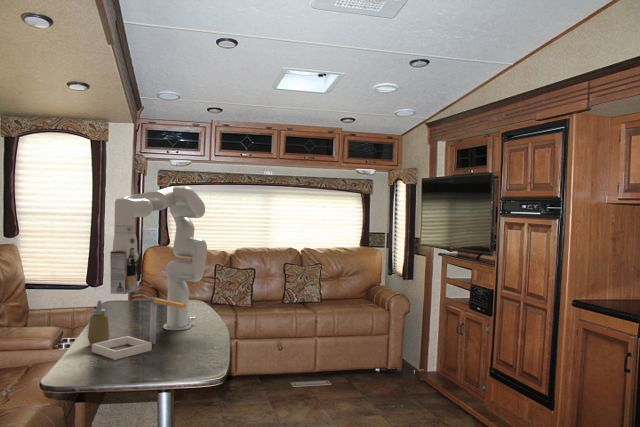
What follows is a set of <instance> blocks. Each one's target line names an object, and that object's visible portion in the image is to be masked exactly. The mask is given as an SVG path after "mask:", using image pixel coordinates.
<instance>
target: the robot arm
mask: <svg viewBox="0 0 640 427" xmlns="http://www.w3.org/2000/svg"><path fill="white" fill-rule="evenodd" d="M167 208H168V209H169V212H170V215H171V217H172V218H173V220H174V223H175V235H174V241H173V248H172V252H173V255H174V256H175V257H177V258H184V259H174V260H171V261H169V262H168V263H167V264H166V268H165V273H166V280H167V300H169V301H174V302H179V303H183V304H186V308H182V309H181V308H177V307H172V306H167V305H166V307H167V309H166V310H167V312H166V314H167V315H166V317H167V318H166V319H167V320H166V323H164V324H163V329H165V330H167V331H183V330H185V331H186V330H189V329H191V328H192V323H191V322H193V321H195V322H196V320H197V317H196V316H189V306H190V305H189V302H190V301H189V298H190V293H189V292H190V289H189V286H188V283H187V282H194V283H195V282H200V281H201V280H202V279H203V277H204V273H205V267H206V261H207V255H208V245H207V242H206V240H204V238H200V237H195V224H194V223H193V221H192V220H191V219H200V218H203V216H204V215H205V213H206V205H205V202H204V201H203V200H202V198H201V197H200V196H199V195H198V194H197V193H196V191H195V190H193V189H192V188H191V187H189V186H168V187H165V188H164V187H163V188H161V189H158V190H157V189H156V190H154V191H147V192H143V193H136V194H131V195H128V196H125V197H124V196H123V197H121V198H117V199H115V201H114V224H113V225H114V226H113V227H114V229H113V230H114V231H113V233H114V234H113V240H112V241H113V242H112V250H110V252H114V251H120V252H126V258H127V263H128V265H129V266H127V276H135V265H136V263H137V264H138V260H139V256H140V255H139V254H138V239H137V234H136V218H146V217H148V216H150V215H151V214H152V213H153V212H156V211H157V212H158V211H161V210H165V209H167ZM129 256H130V257H131V258H129ZM185 258H186V259H188V258H189V259H192V260H186V259H185ZM130 260H132V261H131V262H130Z"/></svg>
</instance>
